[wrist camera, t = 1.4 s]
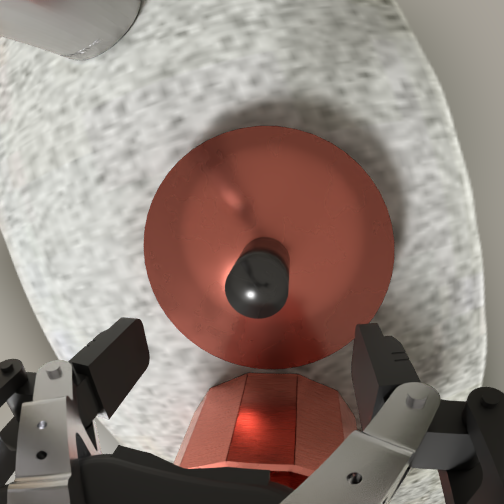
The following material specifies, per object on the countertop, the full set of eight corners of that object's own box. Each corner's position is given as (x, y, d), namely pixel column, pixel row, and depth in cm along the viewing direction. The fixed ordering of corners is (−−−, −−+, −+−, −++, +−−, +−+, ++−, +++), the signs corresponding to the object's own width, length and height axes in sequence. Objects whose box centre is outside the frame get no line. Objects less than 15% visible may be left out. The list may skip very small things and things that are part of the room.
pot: (160, 366, 27) (114, 439, 18) (389, 369, 24) (419, 453, 15) (189, 464, 31) (166, 526, 22) (361, 469, 28) (368, 537, 19)
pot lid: (150, 143, 22) (91, 137, 15) (382, 130, 20) (425, 115, 12) (175, 345, 26) (139, 400, 19) (373, 346, 24) (395, 408, 17)
